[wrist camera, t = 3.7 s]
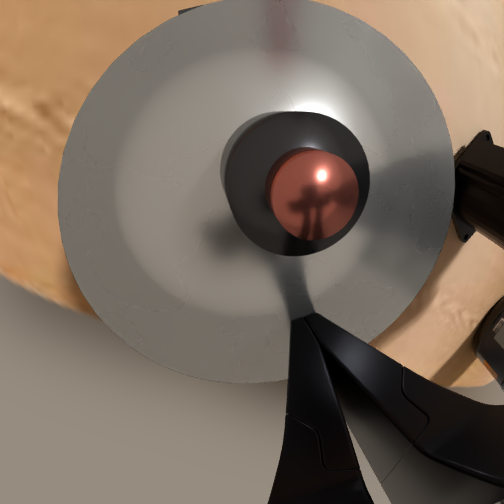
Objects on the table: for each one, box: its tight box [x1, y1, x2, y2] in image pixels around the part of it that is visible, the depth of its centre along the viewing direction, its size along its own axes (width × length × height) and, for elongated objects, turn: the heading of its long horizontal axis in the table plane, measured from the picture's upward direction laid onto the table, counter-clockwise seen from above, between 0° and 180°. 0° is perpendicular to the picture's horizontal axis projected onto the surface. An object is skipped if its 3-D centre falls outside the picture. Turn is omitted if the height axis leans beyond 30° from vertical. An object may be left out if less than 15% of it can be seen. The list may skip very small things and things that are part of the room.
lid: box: [58, 0, 455, 383], centre depth 6 cm, size 11×11×3 cm
